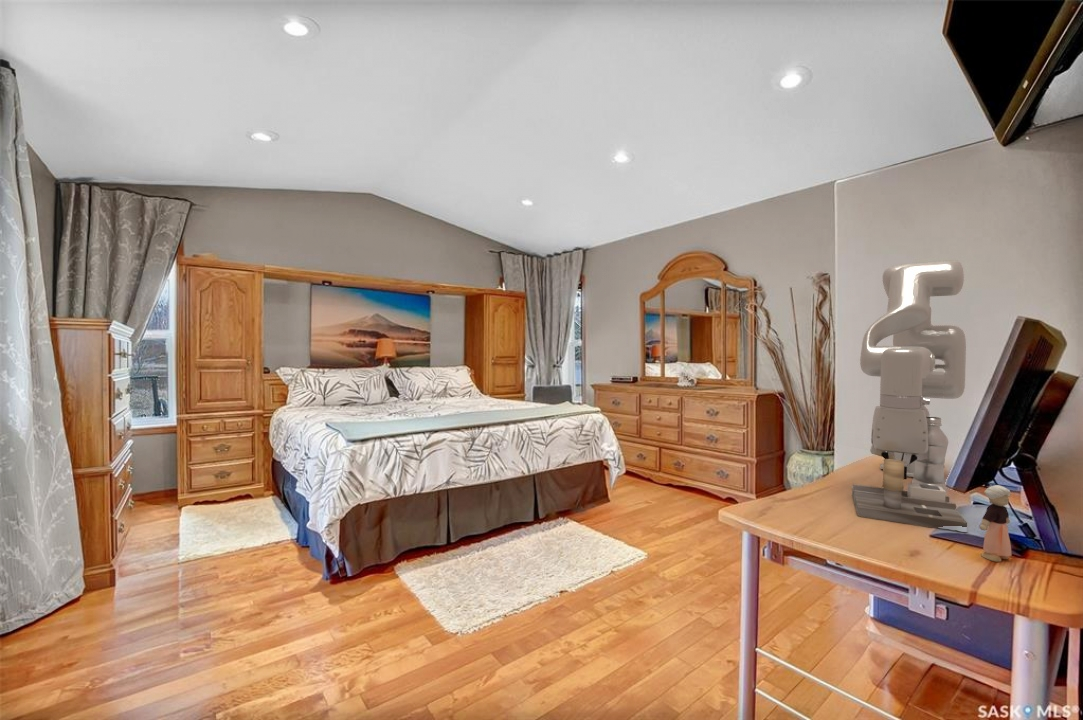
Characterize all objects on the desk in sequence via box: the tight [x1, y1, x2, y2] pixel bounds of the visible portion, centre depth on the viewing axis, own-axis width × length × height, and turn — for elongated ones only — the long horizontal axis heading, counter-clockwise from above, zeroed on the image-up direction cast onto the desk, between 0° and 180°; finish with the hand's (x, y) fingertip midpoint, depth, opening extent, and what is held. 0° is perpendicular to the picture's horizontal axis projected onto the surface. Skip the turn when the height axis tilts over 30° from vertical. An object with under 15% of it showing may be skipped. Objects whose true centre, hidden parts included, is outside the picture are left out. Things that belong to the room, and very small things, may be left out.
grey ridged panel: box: [851, 483, 968, 529], centre depth 105 cm, size 16×18×3 cm
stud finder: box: [906, 482, 947, 502], centre depth 106 cm, size 4×6×3 cm, turn 60°
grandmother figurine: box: [979, 484, 1013, 563], centre depth 83 cm, size 8×4×13 cm, turn 123°
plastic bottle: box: [911, 416, 949, 496], centre depth 112 cm, size 6×7×20 cm
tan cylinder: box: [882, 458, 905, 509], centre depth 102 cm, size 4×4×10 cm
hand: (897, 481), depth 109 cm, fingers closed
